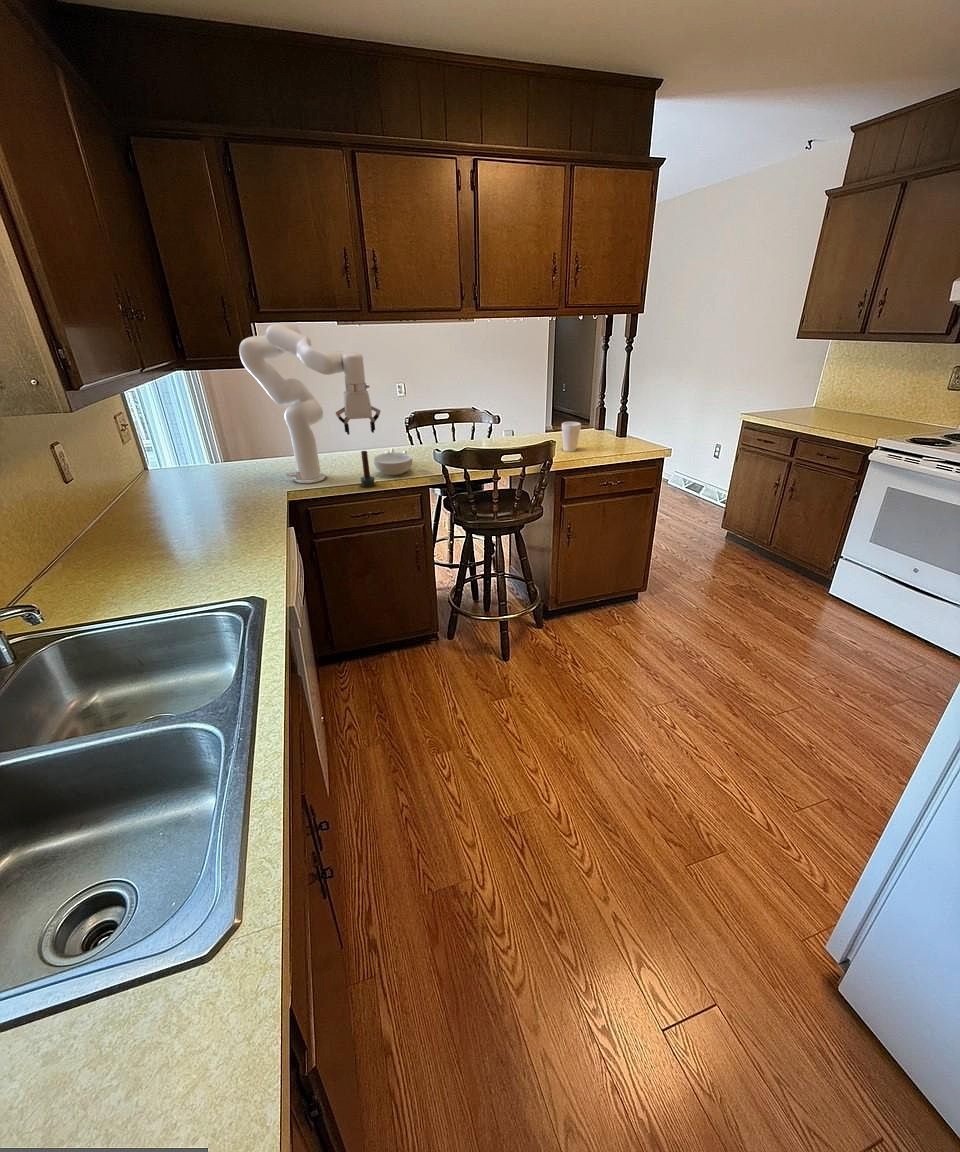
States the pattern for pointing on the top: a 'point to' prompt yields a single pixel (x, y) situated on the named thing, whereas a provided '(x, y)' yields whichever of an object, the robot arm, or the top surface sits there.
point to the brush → (366, 472)
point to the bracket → (394, 452)
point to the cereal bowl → (393, 463)
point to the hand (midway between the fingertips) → (360, 432)
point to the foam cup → (570, 435)
